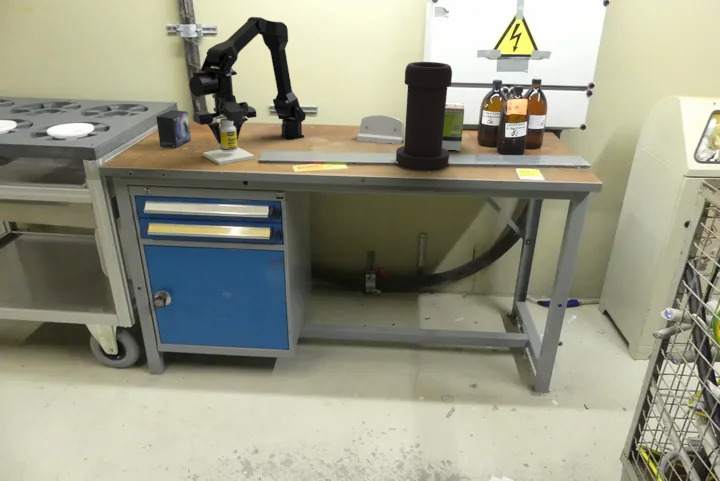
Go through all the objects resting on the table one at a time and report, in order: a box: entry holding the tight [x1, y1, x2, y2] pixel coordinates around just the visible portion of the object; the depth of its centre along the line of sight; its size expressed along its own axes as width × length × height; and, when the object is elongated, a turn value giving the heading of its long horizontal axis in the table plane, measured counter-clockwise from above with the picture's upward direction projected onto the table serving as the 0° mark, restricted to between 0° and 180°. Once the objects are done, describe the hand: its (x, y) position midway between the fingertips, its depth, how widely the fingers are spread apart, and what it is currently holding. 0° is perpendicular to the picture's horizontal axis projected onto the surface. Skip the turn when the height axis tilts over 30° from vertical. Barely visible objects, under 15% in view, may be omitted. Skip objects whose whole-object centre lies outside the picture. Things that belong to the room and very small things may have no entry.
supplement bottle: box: [219, 118, 239, 152], centre depth 167 cm, size 5×5×10 cm
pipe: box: [395, 61, 453, 172], centre depth 163 cm, size 16×16×30 cm
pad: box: [202, 146, 256, 166], centre depth 170 cm, size 12×12×1 cm
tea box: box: [442, 102, 465, 152], centre depth 183 cm, size 15×10×15 cm
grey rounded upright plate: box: [356, 114, 405, 145], centre depth 191 cm, size 17×5×10 cm, turn 76°
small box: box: [155, 109, 192, 149], centre depth 181 cm, size 11×6×10 cm, turn 168°
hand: (227, 141), depth 169 cm, fingers closed on supplement bottle, 5 cm apart
